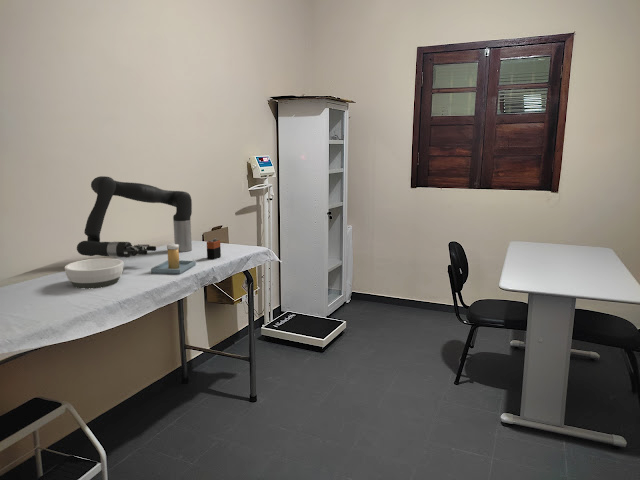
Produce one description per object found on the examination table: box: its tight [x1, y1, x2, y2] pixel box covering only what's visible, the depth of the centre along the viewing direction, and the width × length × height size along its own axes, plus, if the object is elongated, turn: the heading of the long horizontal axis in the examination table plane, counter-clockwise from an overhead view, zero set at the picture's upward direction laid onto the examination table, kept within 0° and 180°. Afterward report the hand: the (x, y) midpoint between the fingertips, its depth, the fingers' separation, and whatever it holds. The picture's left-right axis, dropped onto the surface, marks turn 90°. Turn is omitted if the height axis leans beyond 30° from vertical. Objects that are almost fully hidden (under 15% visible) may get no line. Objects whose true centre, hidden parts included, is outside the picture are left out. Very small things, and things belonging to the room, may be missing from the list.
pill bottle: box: [166, 243, 180, 269], centre depth 226 cm, size 5×5×11 cm
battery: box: [206, 237, 222, 260], centre depth 250 cm, size 4×7×10 cm, turn 158°
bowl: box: [64, 258, 124, 290], centre depth 202 cm, size 22×22×8 cm
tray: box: [150, 259, 197, 275], centre depth 226 cm, size 18×14×2 cm
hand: (151, 250), depth 227 cm, fingers open, 8 cm apart
